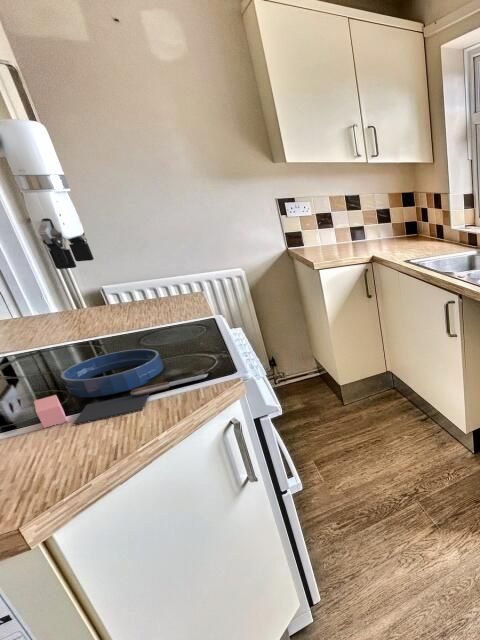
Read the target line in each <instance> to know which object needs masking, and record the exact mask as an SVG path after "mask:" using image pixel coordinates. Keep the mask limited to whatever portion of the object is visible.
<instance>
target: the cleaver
mask: <svg viewBox="0 0 480 640" xmlns="http://www.w3.org/2000/svg"><path fill="white" fill-rule="evenodd" d="M208 375H209V373H204V374H199V375H195V376H190V377H186V378H182V379H177V380H173V381H164V382H158V383H155V384H151V385H146V386H141V387H137V388H134V389H131V390H130V392H129V393H130V396H131V395H132V396H139V395H143V394H147V393H150V394H151V393H154V392H159V391H162V390H167V389H169V388H170V387H173V386H176V385H177V386H178V385H181V384H185V383H190V382H193V381H199V380H203V379H205V378H207V377H208Z"/></svg>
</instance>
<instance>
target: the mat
mask: <svg viewBox="0 0 480 640" xmlns="http://www.w3.org/2000/svg"><path fill="white" fill-rule="evenodd" d="M149 394H151V393H147V394H143V395H139V396H132V395H131V394H130V395H127V396H123V397H122V396H121V397H117V398H113V399H107V400H103V401H98V402H93V403H88V404H86V405H85V406H84V408H83V409H82V411H81V412H80V413H79V415H78V416H77V418H76V419H75V420H74V421H73V423H72V425H73V426H75V425H74V424H78V425H80V424H79V423H83V424H85V423H84V422H87V423H89V422H88V421H92V422H94V421H93V420H96V421H98V420H97V419H101V420H103V419H102V418H105V419H107V418H106V417H110V418H112V417H111V416H114V417H116V416H115V415H119V416H121V415H120V414H123V415H125V414H124V413H128V414H130V413H129V412H132V413H134V412H133V411H137V412H139V411H138V410H141V411H143V410H144V408H145V406H146V404H147V402H146V401H148V400H147V398H148V399H149V397H150V395H149ZM148 396H149V397H148ZM145 403H146V404H145ZM144 405H145V406H144ZM143 407H144V408H143ZM142 409H143V410H142Z"/></svg>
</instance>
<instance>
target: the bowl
mask: <svg viewBox="0 0 480 640" xmlns="http://www.w3.org/2000/svg"><path fill="white" fill-rule="evenodd" d="M133 366H137V367H134V368H131V369H127V370H125V371H122V372H117V373H114V374H110V375H103V376H100V377H96V376H98V375H100V374H103V373H106V372H109V371H112V370H116V369H120V368H121V369H122V368H127V367H133ZM164 368H165V366H164V363H163V361H162V358H161V356H160V353H159V352H158V351H157V350H155V349H149V348H136V349H126V350H121V351H117V352H116V351H115V352H111V353H106V354H102V355H98V356H96V357H95V356H94V357H92V358H89V359H86V360H83V361H81V362H78V363H75V364H73V365H71V366H70V367H68V368H66V369H65V370H64V371H63V372H62V373H61V374H60V378H61V380H62V382H63V384H64V386H65V389H66V391H67V392H68V393H69V394H70V395H71V396H72V397H75V398H100V397H107V396H111V395H117V394H120V393H124V392H128V391H132V390H134V389H138V388H140V387H143V386H144V385H147V384H148V383H150V382H152V381H153V379H152V378H155V377H157V376H158V375H159V374H161V372H163V370H164ZM94 376H95V377H94Z"/></svg>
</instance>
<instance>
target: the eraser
mask: <svg viewBox="0 0 480 640" xmlns="http://www.w3.org/2000/svg"><path fill="white" fill-rule="evenodd" d="M33 404H34V409H35V413H36V416H37V417H38V419H39V421H40V423H41V425H42V427H43V429H44V428H45V429H47V428H46V427H49V426H52V425H55V426H57V425H56V424H58V425H60V424H59V423H61V424H63V423H62V422H65V421H67V422H68V420H67V416H66V413H65V410H64V408H63V406H62V404H61V402H60V399H59V398H58V396H57V394H53V395H50V396H46V397H43V398H39V399H35V400H33ZM65 423H66V422H65ZM52 427H53V426H52ZM49 428H50V427H49Z"/></svg>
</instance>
